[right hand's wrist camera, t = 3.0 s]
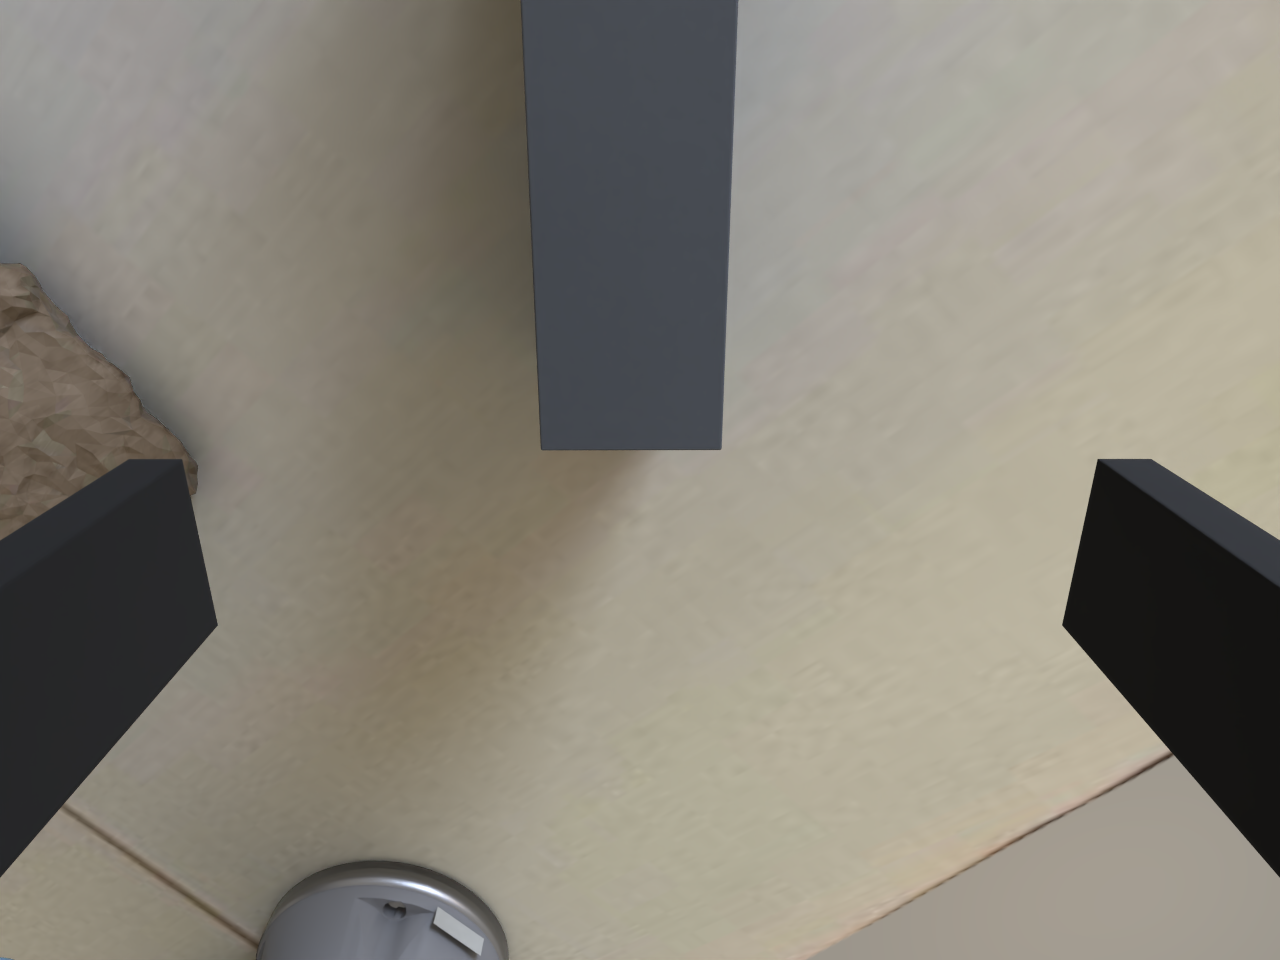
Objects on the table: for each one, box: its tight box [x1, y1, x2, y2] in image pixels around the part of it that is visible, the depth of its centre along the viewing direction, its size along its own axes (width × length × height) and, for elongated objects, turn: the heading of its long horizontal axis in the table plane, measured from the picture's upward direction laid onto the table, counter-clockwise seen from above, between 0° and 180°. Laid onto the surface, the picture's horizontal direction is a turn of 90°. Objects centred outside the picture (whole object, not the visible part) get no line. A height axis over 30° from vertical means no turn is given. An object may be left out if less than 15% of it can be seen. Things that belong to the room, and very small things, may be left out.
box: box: [521, 0, 738, 450], centre depth 30 cm, size 26×6×12 cm, turn 0°
